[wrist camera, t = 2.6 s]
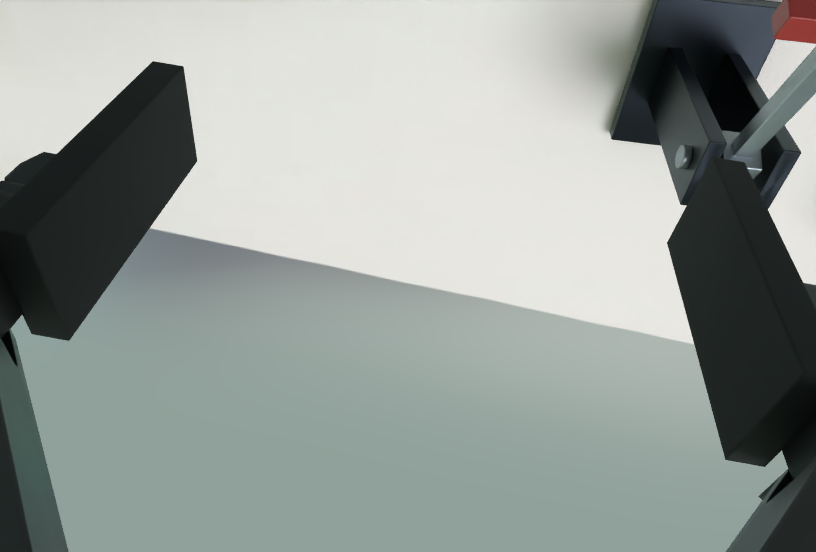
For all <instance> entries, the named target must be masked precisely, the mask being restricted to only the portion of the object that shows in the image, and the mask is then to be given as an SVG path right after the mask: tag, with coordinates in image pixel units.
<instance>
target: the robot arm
mask: <svg viewBox="0 0 816 552" xmlns="http://www.w3.org/2000/svg"><path fill="white" fill-rule="evenodd" d="M196 162H197V156H196V150H195V143H194V136H193V129H192V122H191V116H190V109H189V102H188V95H187V88H186V82H185V75H184V68H183V66H177V65H172V64H166V63H160V62H154V61H153V62H152V63H151V64H150V65H149V66H148V67H147V68H146V69H145V70H143V71H142V72H141V73H140V74H139V75H138V76H137V77H136V78H135V79H134V80H133V81H132V82H131V83H130V84H129V85H128V86H127V87H126V88H125V89H124V90H123V91H122V92H121V93H120V94H119V95H118V96H117V97H116V98H114V99H113V100H112V101H111V102H110V103H109V104H108V105H107V106H106V107H105V108H104V109H103V110H102V111H101V112H100V113H99V114H98V115H97V116H96V117H95V118H94V119H93V120H92V121H91V122H90V123H89V124H88V125H86V126H85V127H84V128H83V129H82V130H81V131H80V132H79V133H78V134H77V135H76V136H75V137H74V138H73V139H72V140H71V141H70V142H69V143H68V144H67V145H66V146H65V147H64V148H63V149H62V150H61V151H60V152H58V153H57V154H52V153H46V152H43V153H41V154H39V155H37V156H35V157H33V158H30V159H28V160H26V161H24V162H22V163H20V164H19V165H18V166H17V167H16V168H15V169H14V170H13V171H12V172H10V173H9V174H8V175H7V176H6V177H5V180H4V181H1V182H0V552H68V548H67V544H66V540H65V536H64V532H63V528H62V524H61V520H60V516H59V512H58V508H57V504H56V500H55V496H54V492H53V488H52V484H51V480H50V476H49V472H48V468H47V464H46V460H45V456H44V451H43V447H42V443H41V439H40V435H39V432H38V427H37V423H36V420H35V415H34V411H33V407H32V403H31V400H30V395H29V391H28V387H27V384H26V379H25V375H24V371H23V367H22V363H21V359H20V355H19V351H18V347H17V344H16V339H15V337H14V335H13V333H12V331H11V329H10V328H11V327H12V326H13V325H14V324H15V322H16V321H17V320H18V319H19V317H20V316H21V315H22V314H23V316H24V319H25V321H26V323H27V325H28V327H29V329H30V331H31V333H32V334H35V335H41V336H46V337H52V338H57V339H62V340H68V341H69V340H70V339H71V337H72V336H73V334H74V333H75V332H76V330H77V329H78V328H79V326H80V325H81V323H82V322H83V321H84V319H85V318H86V316H87V315H88V313H89V312H90V311H91V309H92V308H93V306H94V305H95V304H96V302H97V301H98V299H99V298H100V296H101V295H102V294H103V292H104V291H105V290H106V288H107V287H108V285H109V284H110V283H111V281H112V280H113V278H114V277H115V275H116V274H117V273H118V271H119V270H120V269H121V267H122V266H123V264H124V263H125V261H126V260H127V259H128V257H129V256H130V254H131V253H132V252H133V250H134V249H135V248H136V246H137V245H138V243H139V242H140V241H141V239H142V238H143V236H144V235H145V233H146V232H147V231H148V229H149V228H150V227H151V225H152V224H153V222H154V221H155V220H156V218H157V217H158V215H159V214H160V213H161V211H162V210H163V208H164V207H165V206H166V204H167V203H168V201H169V200H170V199H171V197H172V196H173V194H174V193H175V191H176V190H177V189H178V187H179V186H180V184H181V183H182V182H183V180H184V179H185V177H186V176H187V175H188V173H189V172H190V170H191V169H192V168H193V166H194V165H195V163H196ZM667 244H668V248H669V251H670V255H671V259H672V263H673V266H674V270H675V274H676V277H677V281H678V285H679V289H680V292H681V296H682V300H683V303H684V307H685V311H686V315H687V318H688V322H689V326H690V329H691V333H692V337H693V341H694V344H695V348H696V352H697V355H698V359H699V363H700V366H701V370H702V374H703V377H704V382H705V385H706V389H707V393H708V396H709V400H710V404H711V407H712V411H713V415H714V419H715V422H716V426H717V430H718V433H719V437H720V441H721V445H722V448H723V452H724V456H725V459H726V460H730V461H736V462H741V463H747V464H752V465H758V466H764V467H765V466H766V465H767V464H768V463H769V462H770V461H771V460H772V459H773V458H774V457H775V456H776V455H777V454H778V453H779V452H780V451H781V450H782V451H783V455H784V457H785V460H786V463H787V466H788V469H787V470H786V471H785V472H784V473H783V474H782V475H781V476H780V477H779V478H778V479H777V480H776V481H775V482H774V483H772V484H771V485H770V486H769V487H768V488H767V489H766V490H765V491H764V492H763V493H762V494H761V495H760V496H759V497H760V498H761V499H762V502H761V503H760V505H759V506H758V507H757V509H756V510H755V512H754V513H753V514H752V516H751V517H750V519H749V520H748V521H747V523H746V524H745V526H744V527H743V528H742V530H741V531H740V533H739V534H738V535H737V537H736V538H735V540H734V541H733V542H732V544H731V545H730V547H729V548H728V549H727V551H726V552H816V285H812V284H806V283H803V282H802V280H801V278H800V276H799V273H798V271H797V269H796V267H795V265H794V263H793V261H792V259H791V257H790V255H789V253H788V251H787V249H786V247H785V245H784V243H783V241H782V238H781V236H780V234H779V232H778V230H777V228H776V226H775V224H774V222H773V220H772V218H771V216H770V214H769V212H768V210H767V208H766V205H765V203H764V201H763V199H762V197H761V195H760V193H759V191H758V189H757V187H756V185H755V183H754V181H753V179H752V177H751V175H750V173H749V170H748V168H747V166H746V164H745V162H740V161H734V160H729V159H723V158H717V157H713V158H712V160H711V161H710V163H709V165H708V167H707V169H706V171H705V173H704V175H703V176H702V178H701V180H700V182H699V184H698V186H697V188H696V190H695V192H694V193H693V195H692V197H691V199H690V201H689V203H688V205H687V207H686V208H685V210H684V212H683V214H682V216H681V218H680V220H679V222H678V223H677V225H676V227H675V229H674V231H673V233H672V235H671V237H670V238H669V240H668V242H667Z"/></svg>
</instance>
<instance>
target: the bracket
mask: <svg viewBox="0 0 816 552" xmlns="http://www.w3.org/2000/svg"><path fill="white" fill-rule="evenodd" d="M780 4H781V3H779V2H770V1H761V0H653V3H652V6H651V9H650V12H649V15H648V18H647V21H646V24H645V27H644V30H643V33H642V36H641V39H640V42H639V45H638V48H637V51H636V54H635V57H634V60H633V63H632V66H631V69H630V72H629V75H628V78H627V81H626V85H625V88H624V91H623V94H622V97H621V100H620V103H619V106H618V109H617V112H616V115H615V118H614V121H613V124H612V127H611V130H610V134H611V139H612V140H621V141H629V142H637V143H645V144H653V145H661V146H662V149H663V152H664V155H665V158H666V161H667V164H668V167H669V171H670V174H671V177H672V180H673V183H674V186H675V189H676V192H677V195H678V198H679V202H680V204H681V205H688V203H689V201H690V199H691V197H692V195H693V193H694V192H695V190H696V188H697V186H698V184H699V182H700V180H701V178H702V176H703V175H704V173H705V171H706V169H707V167H708V165H709V163H710V161H711V160H712V158H713V157H717V158H721V156H722V154H723V152H724V150H725V148H726V145H727V142H726V139H725V137H724V135H723V133H722V131H730V132H739V133H741V131H742V130H743V129H744V128H745V127H746V126H747V125H748V123H749V122H750V121H751V120H752V119H753V118H754V117H755V115H756V114H757V113H758V112H759V111H760V110H761V109H762V107H763V106H764V105H765V104H766V103H767V102H768V101H769V100H768V98H767V96H766V95H765V93H764V92H763V90H762V88H761V87H760V85H759V84H758V82H757V80H756V79H757V77H758V75H759V73H760V71H761V68H762V66H763V64H764V62H765V60H766V58H767V56H768V54H769V52H770V50H771V48H772V46H773V44H774V42H775V40H776V39H774V38H773V29H772V19H771V17H772V15H773V13H774V12H775V11H776V9H777V8H778V7H779V5H780ZM800 154H801V151H800V149H799V148H798V146H797V145H796V143H795V141H794V140H793V138H792V137H791V135H790V133H789V132H788V130H787V129H786V127H785V125H784V126H783V127H782V128H781V129H780V130H779V131H778V132H777V133H776V134H775V135H774V136H773V137H772V138H771V139H770V140H769V141H768V142H767V144H766V145H765V146H764V147H763V148H762V149H761V155H762V168H763V169H762V171H761V172H760V173H759V174H758V175H757V176H756V177H755V178H754V179H753V181H754V183H755V185H756V187H757V189H758V191H759V193H760V195H761V197H762V199H763V201H764V203H765V205H766V208H767V210H768V208H769V207H770V205H771V203H772V202H773V200H774V198H775V197H776V195H777V193H778V191H779V190H780V188H781V186H782V185H783V183H784V181H785V180H786V178H787V176H788V175H789V173H790V171H791V169H792V168H793V166H794V164H795V163H796V161H797V159H798V158H799V156H800Z"/></svg>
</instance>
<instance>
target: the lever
mask: <svg viewBox="0 0 816 552" xmlns="http://www.w3.org/2000/svg"><path fill="white" fill-rule="evenodd" d="M771 19H772V29H773V38H774V39H779V40H788V41H797V42H806V43H814V44H816V0H783V1H782V2H781V4H780V5H779V7H778V8H777V9H776V11H775V12H774V13H773V15H772V17H771ZM815 93H816V47H815V48H814V49H813V50H812V52H811V53H810V54H809V55H808V56H807V57H806V58H805V60H804V61H803V62H802V63H801V64H800V65H799V66H798V68H797V69H796V70H795V71H794V72H793V73H792V74H791V76H790V77H789V78H788V79H787V80H786V81H785V82H784V84H783V85H782V86H781V87H780V88H779V89H778V90H777V92H776V93H775V94H774V95H773V96H772V97H771V98H770V99H769V101H768V102H767V103H766V104H765V105H764V106H763V107H762V109H761V110H760V111H759V112H758V113H757V114H756V115H755V117H754V118H753V119H752V120H751V121H750V122H749V123H748V125H747V126H746V127H745V128H744V129H743V130H742V131H741V133H739V132H730V131H722V133H723V135H724V137H725V139H726V142H727V145H726V148H725V150H724V152H723V154H722V156H721V158H723V159H729V160H734V161H740V162H745V164H746V166H747V168H748V170H749V173H750V175H751V177H752V179H754V178H755V177H756V176H757V175H758V174H759V173H760V172H761V171H762V169H763V168H762V155H761V149H762V148H763V147H764V146H765V145H766V144H767V142H768V141H769V140H770V139H771V138H772V137H773V136H774V135H775V134H776V133H777V132H778V131H779V130H780V129H781V128H782V127H783V126H784V125H785V124H786V123H787V122H788V121H789V120H790V119H791V118H792V117H793V116H794V115H795V114H796V113H797V112H798V111H799V110H800V109H801V107H802V106H803V105H804V104H805V103H806V102H807V101H808V100H809V99H810V98H811V97H812V96H813V95H814V94H815Z"/></svg>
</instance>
